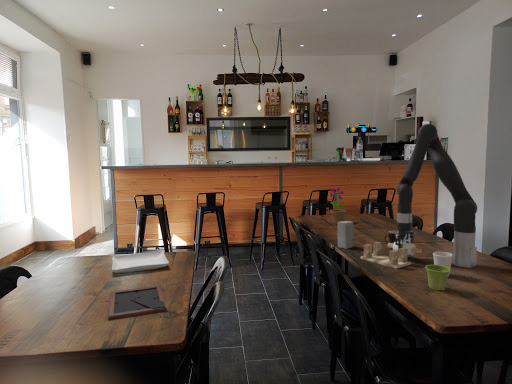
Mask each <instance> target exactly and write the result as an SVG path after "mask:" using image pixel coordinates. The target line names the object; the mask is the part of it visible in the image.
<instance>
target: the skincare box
mask: <svg viewBox="0 0 512 384" xmlns="http://www.w3.org/2000/svg"><path fill="white" fill-rule="evenodd" d="M354 231H355V230H354V221H349V220H348V221H347V220H344V221H341V222H337V248H341V249H345V250H347V249H351V248H353V247H355V246H354V245H355V243H354V240H355V239H354V236H355V235H354Z"/></svg>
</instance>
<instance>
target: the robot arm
mask: <svg viewBox="0 0 512 384" xmlns="http://www.w3.org/2000/svg"><path fill="white" fill-rule="evenodd" d="M414 144H415V145H414V148H413V151H412V152H411V153H412V154H411V155H410V158H409V160H408V162H407V165H406V167H405V169H404V172H403V175H402V177H401V179H400V180H399V183H398V185H397V187H396V194H397V195H398V203H397V205H396V207H397V208H396V209H397V215H396V231H399V233H398V234H395V245H397V246H398V252H399V248H403V243H410V244H414V236H415V234H414V233H415V232H414V231H412V230H413V214H412V212H413V211H412V209H413V208H412V207H413V206H412V202H413V196H414V193H413V191H414V190H413V185H414V183H415V181H417V179H418V177H419V175H420V172H421V170H422V168H423V164H424V162H425V161H424V160H425V157H426V155H427V153H428V155H429V158H430V160H431V164H432V167H433V169H434V171H435V172H436V175H437V177H438V179H439V180H440V182H441V183H442V184H443V186H444V187H445V189H447V190H448V192H449V193H450V195H451V196H452V199H453V201H454V203H455V205H454V207H453V227H454V228H453V231H454V233H453V253H452V254H453V257H452V264H453V266H457V267H460V268H468V269H471V268H475V267H477V255H478V253H477V252H478V251H477V250H478V248H477V246H476V232H477V231H476V229H477V226H476V214H477V211H478V205H477V203H476V201H475V200H474V199H473V197H472V195H471V194H470V192H469V191H468V189H467V188H466V185H465V183H464V181H463V178H462V177H461V174H460V172H459V170H458V167H457V166H456V164H455V162H454V161H453V159H452V158H451V156H450V155H449V153H448V152H447V151H446V149H444V147H443V145H442V143H441V140H440V137H439V134H438V129H437V127H436V126H435V125H433V124H431V123H426V124H423V125H421V126H420V127H419V129H418V131H417V137H416V140H415V143H414ZM400 239H401V240H400ZM397 241H398V243H397Z"/></svg>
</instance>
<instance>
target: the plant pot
mask: <svg viewBox="0 0 512 384" xmlns="http://www.w3.org/2000/svg"><path fill="white" fill-rule="evenodd" d="M425 269H426V273H427V282H428V288H430V289H431V290H432V291H433V290H434V291H445V290H446V286H447V282H448V281H447V280H448V277H449V276H448V274H449V275H450V273H451V268H448V267H445V266H441V265H434V264H426V265H425ZM449 272H450V273H449Z"/></svg>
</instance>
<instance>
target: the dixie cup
mask: <svg viewBox="0 0 512 384" xmlns="http://www.w3.org/2000/svg"><path fill="white" fill-rule="evenodd" d="M432 256H433V265H441V266H445V267H448V268H450V269H451V267H452V263H453V253H451V252H447V251H434V252H432ZM450 273H451V271H450V272H449V274H448V277H449V276H450Z"/></svg>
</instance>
